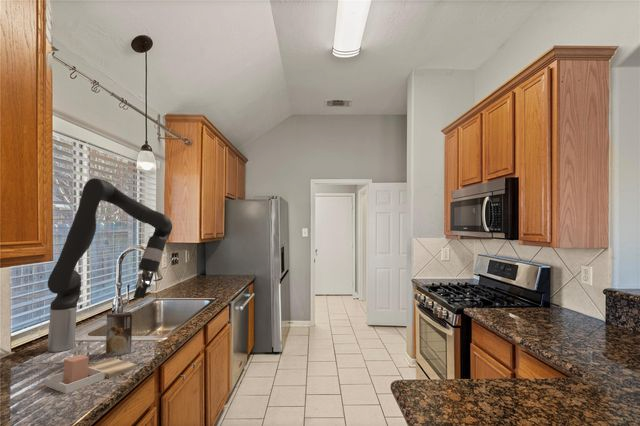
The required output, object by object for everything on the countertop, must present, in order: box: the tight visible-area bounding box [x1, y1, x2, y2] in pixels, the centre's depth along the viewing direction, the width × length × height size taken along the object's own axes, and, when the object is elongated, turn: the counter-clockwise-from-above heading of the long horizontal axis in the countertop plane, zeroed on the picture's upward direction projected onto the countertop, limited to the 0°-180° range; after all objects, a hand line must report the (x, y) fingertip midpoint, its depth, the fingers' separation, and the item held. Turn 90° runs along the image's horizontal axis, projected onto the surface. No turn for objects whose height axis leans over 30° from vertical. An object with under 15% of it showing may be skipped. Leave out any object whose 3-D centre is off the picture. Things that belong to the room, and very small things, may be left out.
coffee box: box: [105, 311, 133, 358], centre depth 142 cm, size 9×6×16 cm
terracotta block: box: [62, 354, 90, 384], centre depth 115 cm, size 5×5×8 cm
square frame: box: [44, 367, 106, 394], centre depth 114 cm, size 12×12×2 cm
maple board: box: [88, 357, 137, 379], centre depth 125 cm, size 14×10×2 cm
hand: (138, 298), depth 140 cm, fingers open, 8 cm apart
